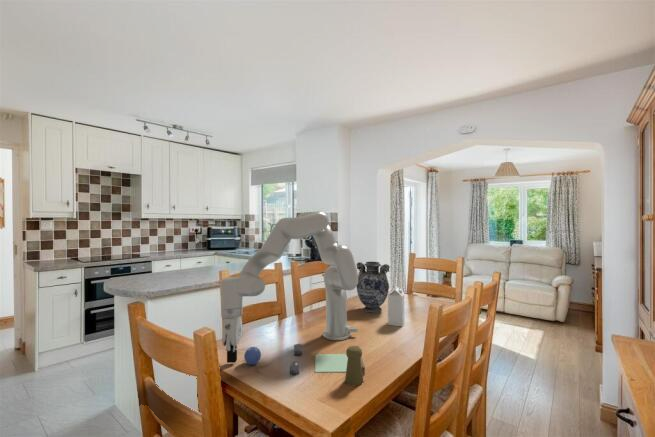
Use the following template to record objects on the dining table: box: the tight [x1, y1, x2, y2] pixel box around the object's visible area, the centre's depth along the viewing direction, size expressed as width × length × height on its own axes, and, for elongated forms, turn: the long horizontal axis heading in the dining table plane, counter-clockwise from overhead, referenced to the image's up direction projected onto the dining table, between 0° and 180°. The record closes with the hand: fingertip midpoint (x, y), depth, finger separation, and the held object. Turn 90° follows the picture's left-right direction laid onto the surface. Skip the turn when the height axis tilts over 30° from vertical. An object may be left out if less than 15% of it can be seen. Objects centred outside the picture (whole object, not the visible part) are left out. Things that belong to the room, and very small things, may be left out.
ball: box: [243, 346, 262, 366], centre depth 113 cm, size 6×6×6 cm
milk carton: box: [387, 285, 405, 327], centre depth 157 cm, size 7×7×19 cm
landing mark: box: [314, 353, 348, 373], centre depth 114 cm, size 14×14×1 cm
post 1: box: [293, 343, 303, 357], centre depth 121 cm, size 3×3×4 cm
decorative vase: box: [356, 261, 391, 314], centre depth 180 cm, size 21×19×28 cm
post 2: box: [289, 360, 300, 377], centre depth 106 cm, size 3×3×4 cm
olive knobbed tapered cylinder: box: [344, 345, 364, 387], centre depth 101 cm, size 6×6×11 cm
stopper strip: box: [357, 345, 366, 376], centre depth 114 cm, size 2×18×2 cm, turn 1°
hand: (232, 361), depth 113 cm, fingers closed
